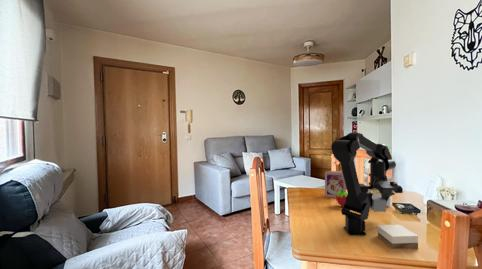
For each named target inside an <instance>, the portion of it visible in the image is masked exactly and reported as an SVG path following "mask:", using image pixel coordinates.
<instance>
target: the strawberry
mask: <svg viewBox="0 0 482 269" xmlns="http://www.w3.org/2000/svg"><path fill="white" fill-rule="evenodd" d="M347 195H348V192H346V193H345V192H344V189H343V188H342V192H338V193H337V194H336V197H335V198H336V199H335V200H336V201H337V203H338V204H339V205H340V206H341V207H343V206H344V204H345V202H346V201H345V198H346V196H347Z"/></svg>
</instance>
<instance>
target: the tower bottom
mask: <svg viewBox="0 0 482 269" xmlns="http://www.w3.org/2000/svg"><path fill="white" fill-rule="evenodd" d="M377 236H378V237H379V239H380V240H382V241H383V242H384V243H385V244H386V245H387V246H388V247H389V248H391V249H397V250H398V249H400V250H402V249H405V250H407V249H410V250H411V249H412V250H415V249H416V250H417V249H419V242H418V243H395V244H392V243H391V242H390V241H389V240H387V239H386V238H385V237H383V236H382V235H381V234H380V233H378V232H377Z"/></svg>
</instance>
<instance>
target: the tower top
mask: <svg viewBox="0 0 482 269" xmlns="http://www.w3.org/2000/svg"><path fill="white" fill-rule="evenodd" d="M376 231H377V234H378V233H380V234H381V235H382V236H383V237H385V238H386V239H387V240H389V241H390V242H391V243H392V244H395V243H418V244H419V236H418V235H417V234H416V233H414V232H412V230H410V229H408V228H406V227H405V226H403V225H402V224H377V226H376Z"/></svg>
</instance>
